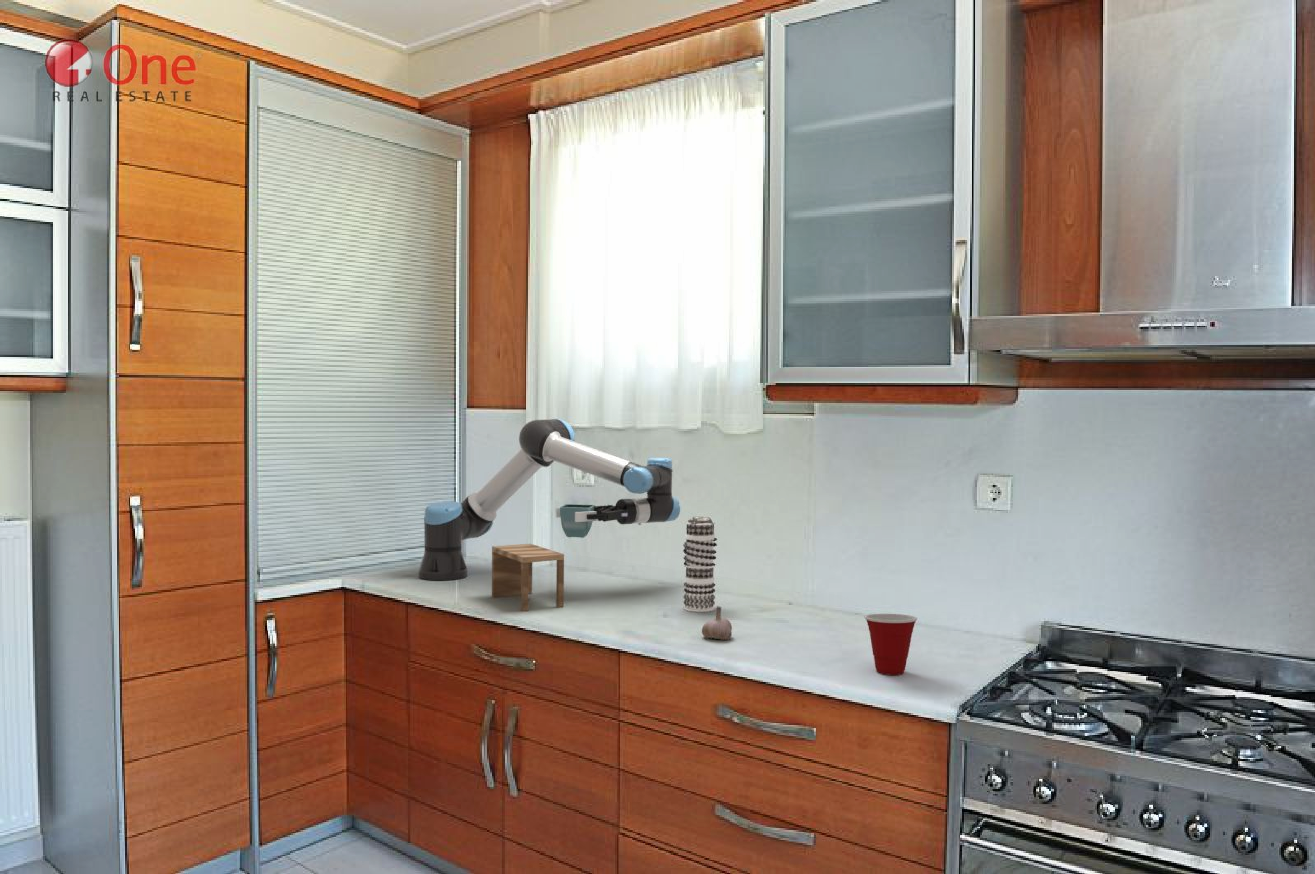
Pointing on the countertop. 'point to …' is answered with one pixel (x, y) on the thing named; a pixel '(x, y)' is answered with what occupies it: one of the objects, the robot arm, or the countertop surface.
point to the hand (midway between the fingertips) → (565, 514)
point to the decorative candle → (699, 565)
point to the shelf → (522, 571)
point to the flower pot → (569, 522)
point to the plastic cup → (890, 641)
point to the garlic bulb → (717, 627)
